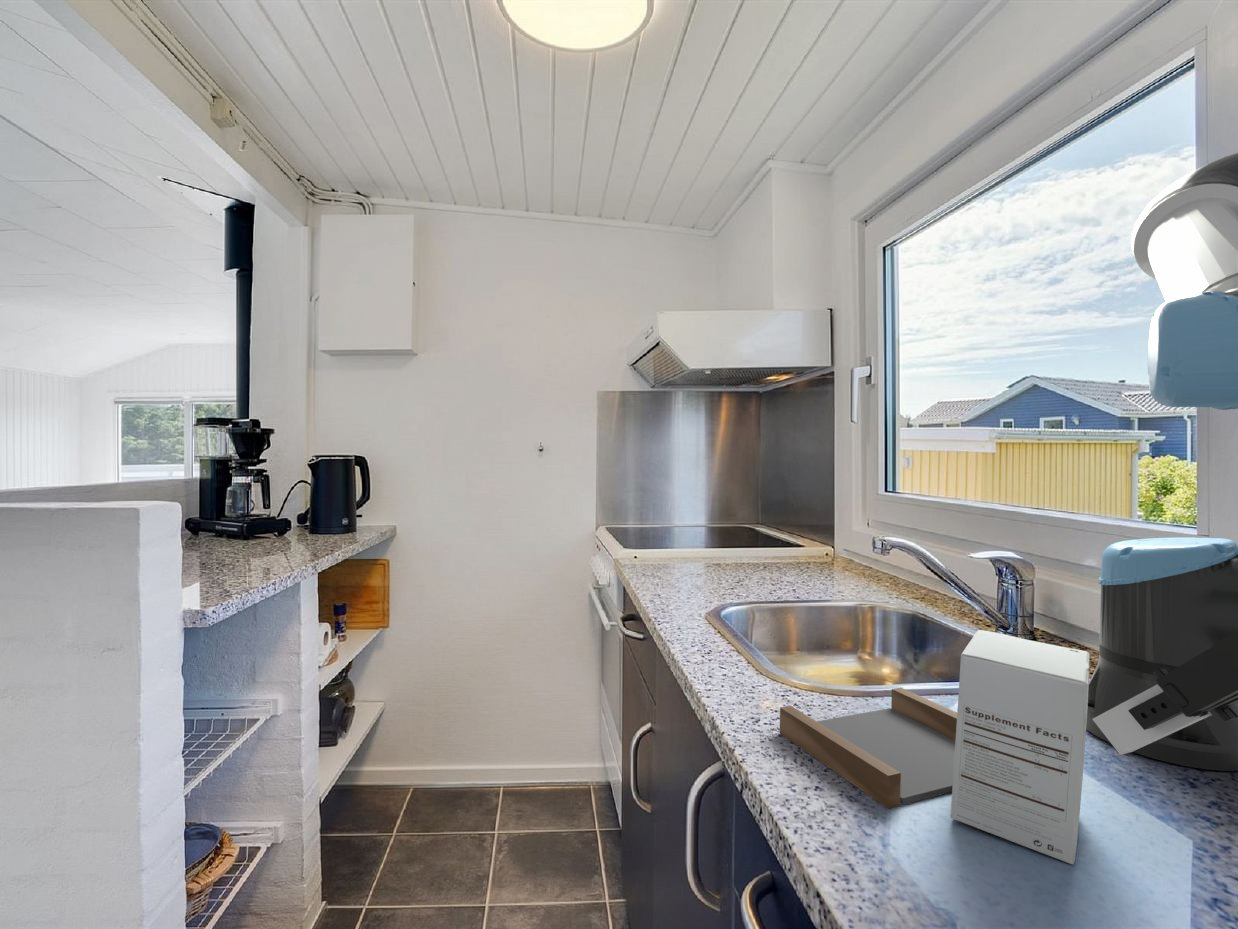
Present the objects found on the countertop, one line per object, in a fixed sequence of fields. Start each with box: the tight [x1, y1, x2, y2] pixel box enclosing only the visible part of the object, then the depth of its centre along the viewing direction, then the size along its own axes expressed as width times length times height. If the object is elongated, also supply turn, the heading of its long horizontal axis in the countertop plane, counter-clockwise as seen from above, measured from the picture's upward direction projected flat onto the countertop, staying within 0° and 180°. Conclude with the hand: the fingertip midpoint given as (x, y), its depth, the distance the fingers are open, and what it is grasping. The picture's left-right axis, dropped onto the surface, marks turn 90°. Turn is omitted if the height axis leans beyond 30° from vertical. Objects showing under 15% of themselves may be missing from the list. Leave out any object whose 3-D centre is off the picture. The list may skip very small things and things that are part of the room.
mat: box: [816, 707, 955, 806], centre depth 65 cm, size 15×16×1 cm
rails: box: [779, 687, 957, 809], centre depth 65 cm, size 18×16×3 cm
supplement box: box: [950, 629, 1091, 865], centre depth 52 cm, size 9×9×15 cm
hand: (1112, 735), depth 45 cm, fingers closed
